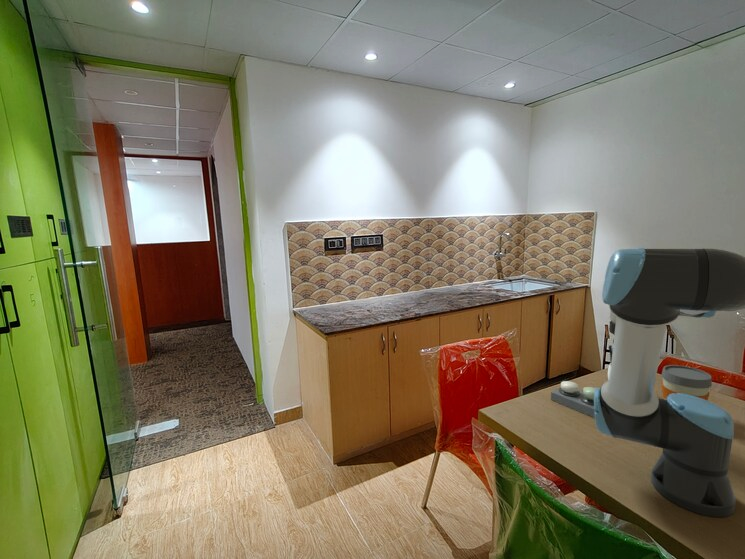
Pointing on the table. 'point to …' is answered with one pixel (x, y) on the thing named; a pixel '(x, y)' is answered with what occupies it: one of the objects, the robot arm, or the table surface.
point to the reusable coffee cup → (685, 381)
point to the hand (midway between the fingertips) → (618, 390)
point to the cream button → (569, 387)
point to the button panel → (574, 401)
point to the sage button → (589, 392)
